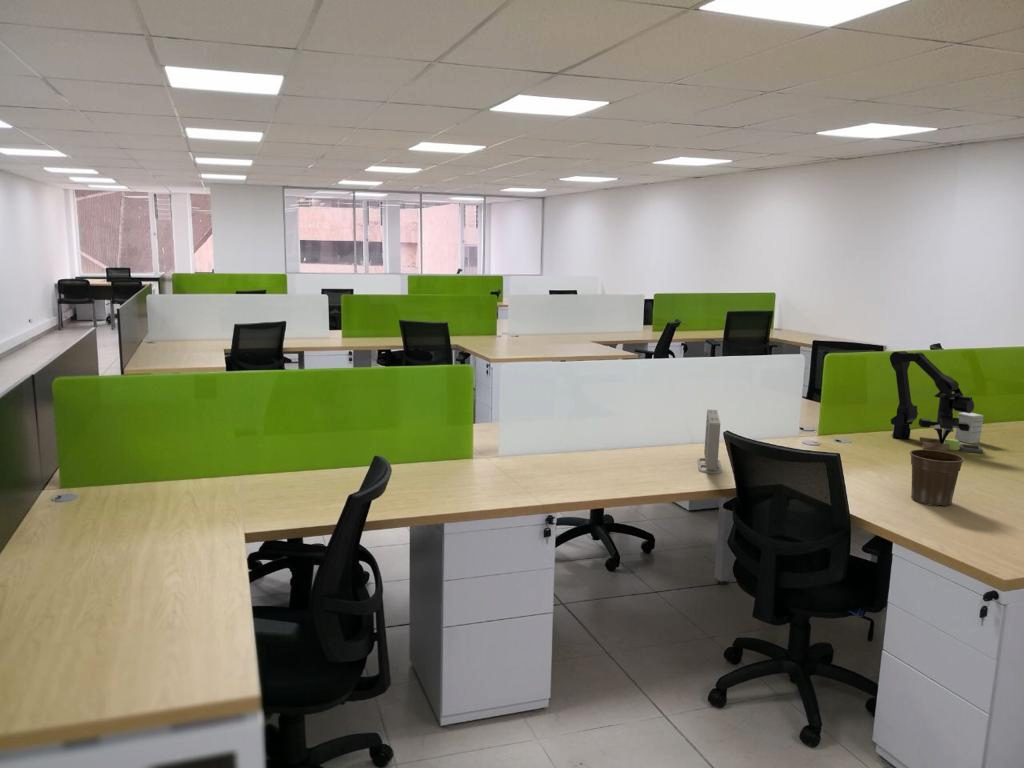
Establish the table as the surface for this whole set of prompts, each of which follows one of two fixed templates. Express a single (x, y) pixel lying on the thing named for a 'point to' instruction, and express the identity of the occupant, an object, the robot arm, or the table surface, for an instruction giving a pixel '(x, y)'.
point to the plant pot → (934, 476)
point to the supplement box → (974, 429)
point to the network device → (711, 444)
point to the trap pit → (970, 448)
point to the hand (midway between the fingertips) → (941, 444)
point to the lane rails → (933, 444)
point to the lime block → (952, 444)
